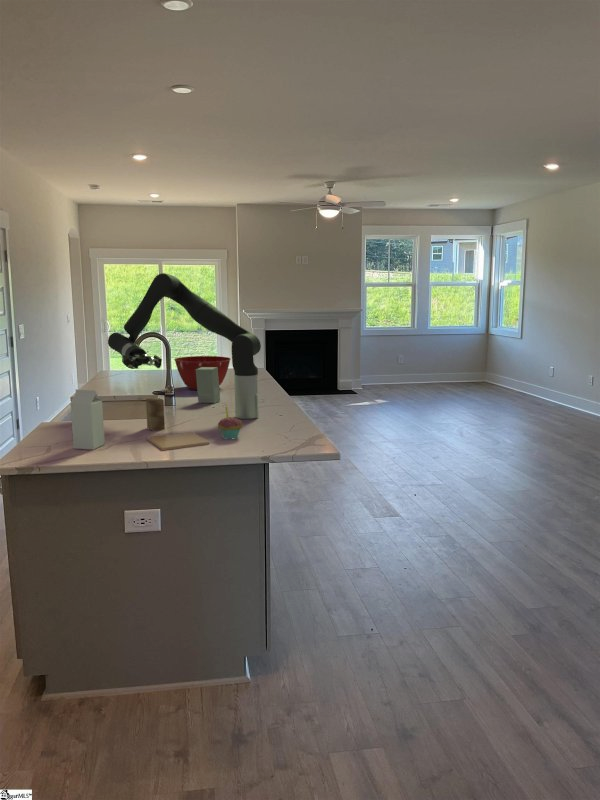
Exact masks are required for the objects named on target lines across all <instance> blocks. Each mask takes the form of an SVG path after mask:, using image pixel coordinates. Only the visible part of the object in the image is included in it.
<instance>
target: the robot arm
mask: <svg viewBox="0 0 600 800" xmlns="http://www.w3.org/2000/svg"><path fill="white" fill-rule="evenodd" d="M163 298H167V299H170V300H172V301H174V302H176V303H177V304H178V305H180V306H181V307H182V308H184V309H185V310H186V312H187V314H188V315H189V316H190V317H191V318H192V320H194V321H195V322H196V323H197V324H199V325H200V326H201V327H203V328H204V329H206V330H207V331H210V332H212V333H214V334H216V335H218V336H221V337H224V338H225V339H227V340H228V341H230V342H231V363H232V364H231V365H232V368H233V371H234V405H235V407H234V409H235V412H234V413H235V418H237V419H239V420H249V419H251V420H252V419H259V417H260V411H259V410H260V407H259V403H260V400H259V396H260V395H259V370H258V369H259V367H258V366H256V365H255V359H254V357H255V356H256V355H257V354H258V353H259V352H260V351H261V347H262V345H261V341H260V339H259V337H258V336H257V335H255V334H254V333H253V332H251V331H250V330H247V329H245V328H244V327H242V326H241V325H239V324H238V323H236V322H235V321H233V319H231V318H230V317H228V316H227V315H226V314H224V313H223V312H222V311H221V310H219V309H218V308H217V307H216V306H214V305H213V304H212V303H210V302H209V301H208V300H206V299H204V298H203V297H201V296H200V295H198V294H196V293H195V292H193V291H192V290H191V289H189V288H188V286H187V285H185V284H184V283H183V282H182V280H180V279H179V278H178V277H176V276H174V275H172V274H169V273H163V272H162V273H159V274H157V275H156V276H155V277H154V278H153V280H152V281H151V283H150V285H149V287H148V289H147V291H146V292H145V294H144V296H143V298H142V300H141V301H140V302H139V304H138V306H137V308H135V310H134V312H133V313H132V314H131V316H129V318H128V320H127V321H126V322H125V323H124V325H123V329H124V331H125V332H126V333H127V334H128V335H129V336H128V337H127V336H125V335H124V334H122V333H120V332H113V333H111V334H110V335H109V336H108V338H107V344H108V347H109V348H110V349H112V350H113V351H115V352H117V353H119V355H121V356H122V357H121V362H122V364H123V365H124V366H126V367H128V366H130V367H132V368H134V369H139V367H140V366H150V367H151V366H154V367H155V368H157V369H160V368H161V367H162V364H163V363H162V360H163V359H162V358H161V357H159V356H158V355H156V354H154V355H153V356H151V355H148V354H147V352H146V350H144V348H142V347H141V346H140V345H138V344H137V343H136V342H137V340H138V337H139V336H140V334H141V333H142V331H143V330H144V329H146V326H147V325H148V323H149V322H150V319H151V317H152V315H153V311H154V310H155V307H156V306H157V305H158V303H159V302H160V301H161V300H162V299H163ZM135 344H136V345H135ZM134 345H135V346H134Z"/></svg>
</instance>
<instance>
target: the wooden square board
mask: <svg viewBox="0 0 600 800" xmlns="http://www.w3.org/2000/svg"><path fill="white" fill-rule="evenodd" d="M147 441H149V442H150V443H152V444H153V445H154V446H155V447H157V448H159V449H160V450H161V451H169V450H175V449H184V448H189V447H190V448H191V447H199V446H205V445H206V446H207V445H210V441H209V440H207V439H205V438H204V437H202V436H200V435H198V434H196V433H195V432H194V431H193V432H192V431H189V432H183V433H182V432H181V433H175V434H166V435H158V436H151V437H150V436H149V437H147Z"/></svg>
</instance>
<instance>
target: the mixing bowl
mask: <svg viewBox="0 0 600 800" xmlns="http://www.w3.org/2000/svg"><path fill="white" fill-rule="evenodd" d="M173 360H174V362H175V366H176V369H177V371H178V374H179V376H180V378H181V380H182V382H183V384H184V385H185V386H186V387H187V388H189V389H190V390H193V391H194V390H196V391H197V379H196V369H198V368H201V367H218V379H219V387H220V386H221V385H222V383H223V381H224V380H225V378H226V376H227V372H228V370H229V366H230V361H232V358H231V357H227V356H220V355H219V356H215V355H196V356H195V355H193V356H192V355H191V356H182V357H181V356H180V357H176V358H174V359H173Z"/></svg>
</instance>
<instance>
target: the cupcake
mask: <svg viewBox="0 0 600 800" xmlns="http://www.w3.org/2000/svg"><path fill="white" fill-rule="evenodd" d="M225 413H226V414H225V415H226V417H224V418H222V419H220V420H219V421H218V423H217V425H218V426H217V427H218V430H220V431H221V433H222V437H223V439H225V438H227V439H226V440H233V439H232V438H236V439H238V438H239V433H240V431H241V429H242V428H243V422H242V419H240V418H236V417H234V416H232V417H230V416H229V410H228V406H227V405H225Z"/></svg>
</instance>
